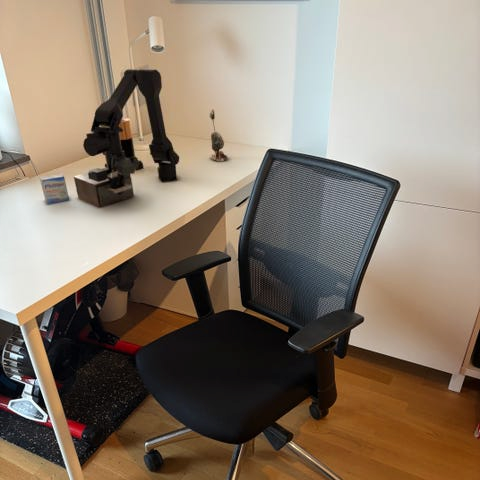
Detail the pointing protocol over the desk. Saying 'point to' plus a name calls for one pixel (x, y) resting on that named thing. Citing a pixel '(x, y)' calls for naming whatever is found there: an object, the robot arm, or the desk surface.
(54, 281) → the desk surface
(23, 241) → the desk surface
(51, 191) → the medicine box
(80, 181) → the cabinet
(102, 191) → the drawer
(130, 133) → the battery
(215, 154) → the plant with pod
